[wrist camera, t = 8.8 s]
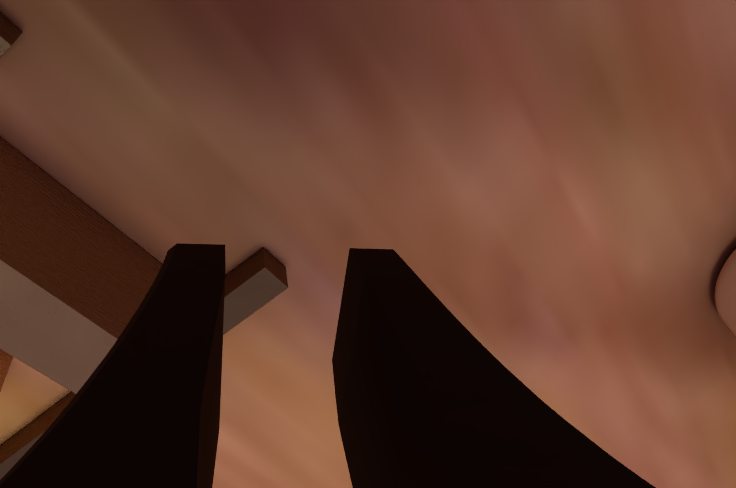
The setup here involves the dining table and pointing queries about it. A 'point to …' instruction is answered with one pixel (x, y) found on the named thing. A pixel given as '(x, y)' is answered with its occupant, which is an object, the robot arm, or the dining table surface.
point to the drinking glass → (727, 293)
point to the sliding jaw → (62, 275)
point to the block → (4, 365)
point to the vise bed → (242, 298)
